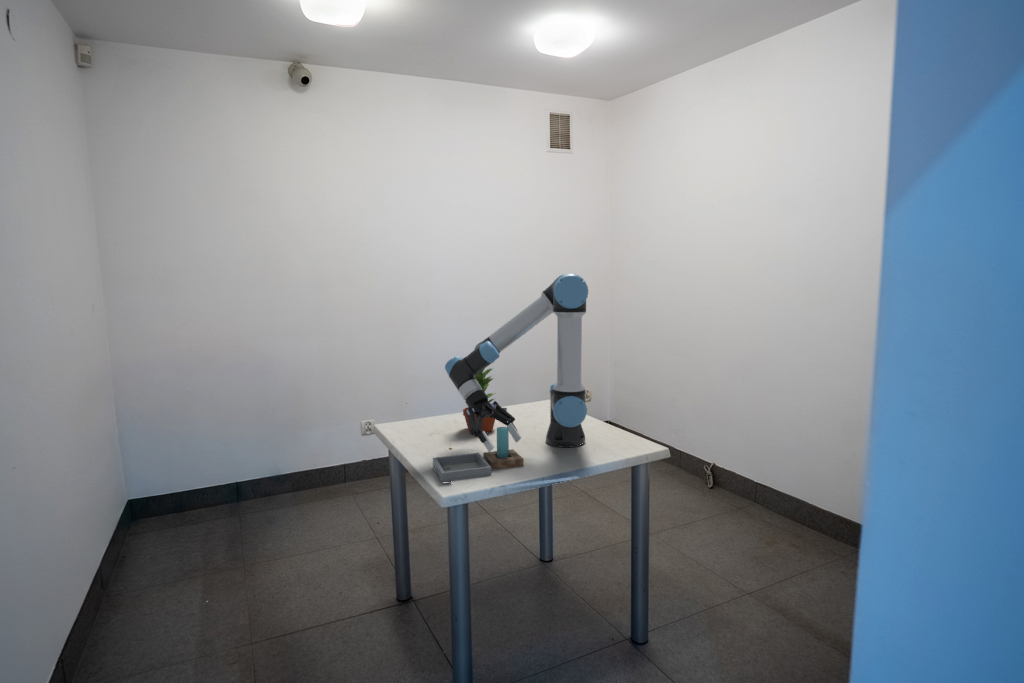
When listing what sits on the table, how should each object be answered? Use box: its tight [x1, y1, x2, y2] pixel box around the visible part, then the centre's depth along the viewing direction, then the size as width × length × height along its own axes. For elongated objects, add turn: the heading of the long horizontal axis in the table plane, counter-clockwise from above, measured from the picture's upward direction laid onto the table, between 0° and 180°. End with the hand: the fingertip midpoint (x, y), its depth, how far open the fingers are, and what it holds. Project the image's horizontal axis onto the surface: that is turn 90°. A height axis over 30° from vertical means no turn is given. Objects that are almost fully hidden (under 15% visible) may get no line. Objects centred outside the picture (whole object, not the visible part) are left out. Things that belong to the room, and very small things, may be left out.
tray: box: [432, 452, 492, 482], centre depth 187 cm, size 16×16×4 cm
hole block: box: [482, 448, 525, 471], centre depth 193 cm, size 11×11×4 cm
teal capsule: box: [496, 426, 510, 459], centre depth 193 cm, size 4×4×12 cm
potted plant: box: [462, 368, 496, 434], centre depth 236 cm, size 15×15×30 cm
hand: (505, 444), depth 191 cm, fingers open, 13 cm apart
